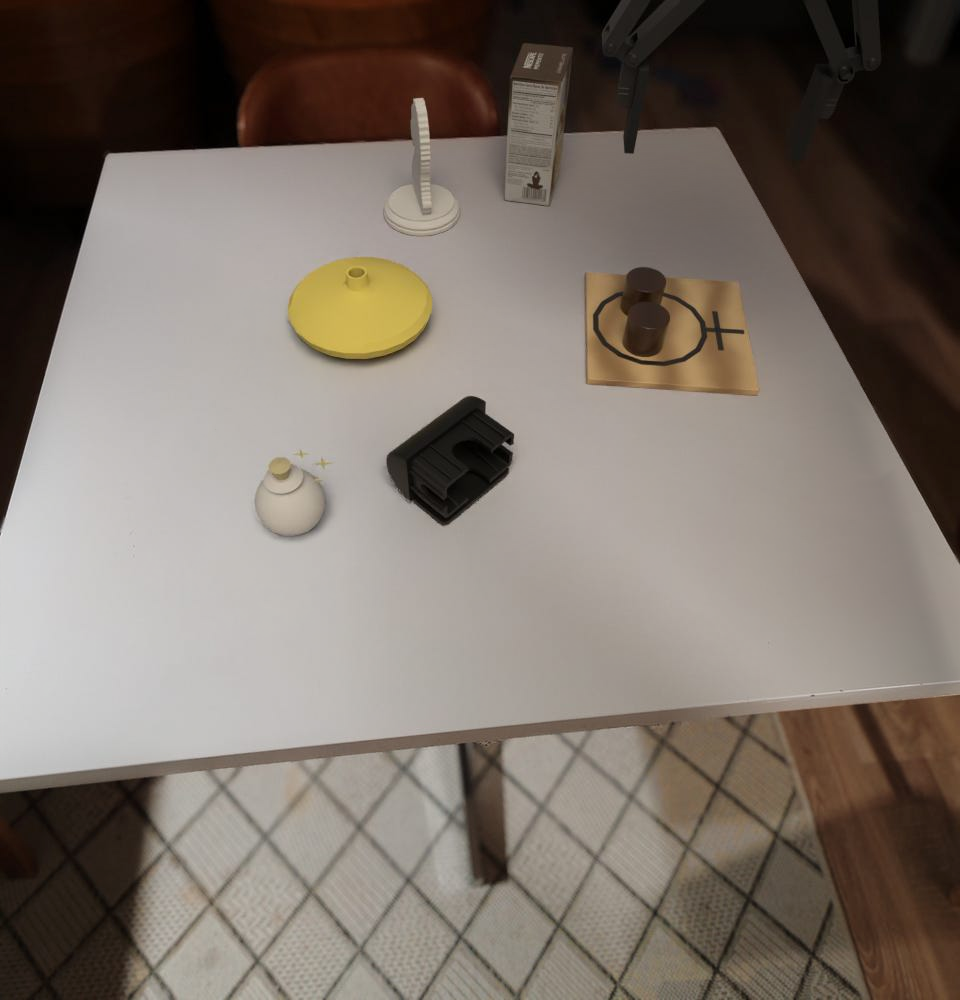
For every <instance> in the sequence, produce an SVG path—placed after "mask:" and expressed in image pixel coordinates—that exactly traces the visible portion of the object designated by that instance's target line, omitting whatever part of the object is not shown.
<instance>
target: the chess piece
mask: <svg viewBox="0 0 960 1000" xmlns="http://www.w3.org/2000/svg"><path fill="white" fill-rule="evenodd" d="M412 102H413V103H412V104H411V106H410V107H411V108H410V110H411V112H410V113H411V114H410V115H411V119H410V120H409V122H410V136H411V139H412V140H411V141H412V146H413V147H414V149H413V150H414V151H413V155H412V161H411V181H412V183H409V184H405V185H402V186H400V187H398V188H396V189H395V190H394V191H393V192H392V193H391V194H390V195H389V196H388V197H387V198H386V200H385V202H384V206H383V218H384V220H385V222H386V224H387V225H388V226H389V227H391V228H392V229H393V230H394V231H397V232H399V233H401V234H404V235H408V236H415V237H428V236H429V237H430V236H434V235H438V234H441V233H444V232H446V231H448V230H450V229H452V227H454V226H455V225H456V224H457V223H458V221H459V219H460V216H461V208H460V204H459V201H458V199H457V198H456V197H455V196H454V195H453V194H452V193H451V191H449V190H448V189H447V188H445V187H443V186H441V185H438V184H434V183H431V160H432V159H431V140H430V139H431V138H430V125H429V118H428V117H429V116H428V110H427V106H426V101H425V99H424V97H418V98H417V97H416V98H413V99H412Z"/></svg>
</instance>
